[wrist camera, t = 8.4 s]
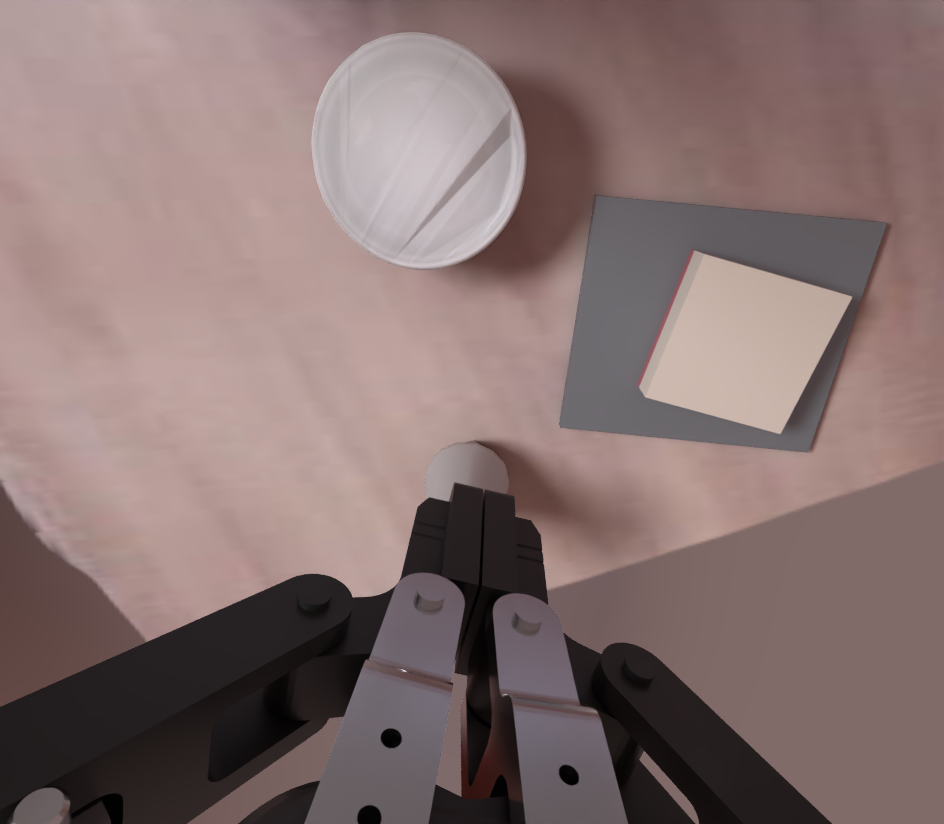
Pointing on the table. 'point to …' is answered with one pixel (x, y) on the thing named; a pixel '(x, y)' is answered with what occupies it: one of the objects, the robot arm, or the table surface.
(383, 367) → the table surface
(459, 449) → the salt shaker
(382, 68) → the ramekin
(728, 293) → the tile
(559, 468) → the table surface
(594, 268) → the slate mat
